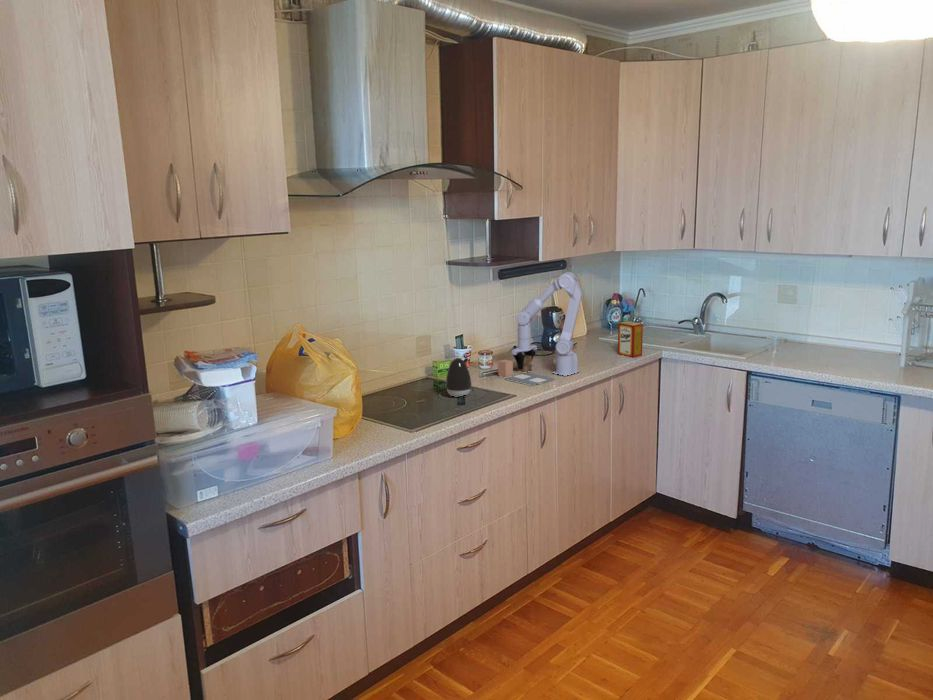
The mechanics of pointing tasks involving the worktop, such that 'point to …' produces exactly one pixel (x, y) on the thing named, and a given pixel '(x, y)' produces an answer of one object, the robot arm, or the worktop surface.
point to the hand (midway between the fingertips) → (524, 368)
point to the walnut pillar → (526, 364)
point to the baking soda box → (630, 339)
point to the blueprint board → (530, 378)
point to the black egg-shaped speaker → (458, 378)
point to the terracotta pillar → (505, 368)
